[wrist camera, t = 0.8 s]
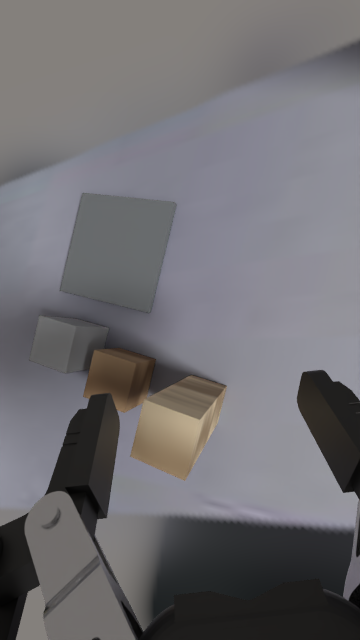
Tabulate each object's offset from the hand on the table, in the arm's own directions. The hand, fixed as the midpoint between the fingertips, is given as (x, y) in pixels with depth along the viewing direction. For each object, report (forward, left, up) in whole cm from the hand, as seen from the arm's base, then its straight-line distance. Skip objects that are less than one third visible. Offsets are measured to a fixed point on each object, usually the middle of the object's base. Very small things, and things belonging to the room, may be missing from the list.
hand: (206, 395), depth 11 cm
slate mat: (-9, -18, -17) cm, 27 cm away
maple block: (+5, -3, -17) cm, 18 cm away
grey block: (+3, -19, -18) cm, 26 cm away
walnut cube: (+5, -12, -18) cm, 22 cm away
